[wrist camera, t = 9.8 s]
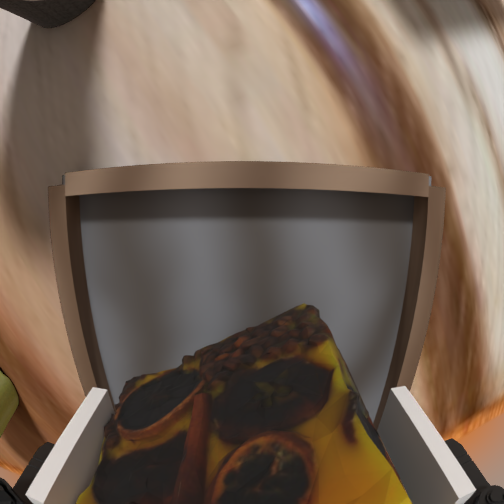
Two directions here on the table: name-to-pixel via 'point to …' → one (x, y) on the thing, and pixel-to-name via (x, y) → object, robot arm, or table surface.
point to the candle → (248, 427)
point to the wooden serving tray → (244, 263)
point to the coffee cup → (46, 10)
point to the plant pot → (6, 401)
